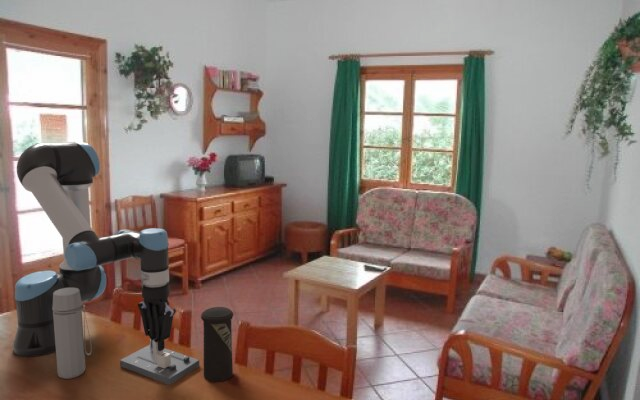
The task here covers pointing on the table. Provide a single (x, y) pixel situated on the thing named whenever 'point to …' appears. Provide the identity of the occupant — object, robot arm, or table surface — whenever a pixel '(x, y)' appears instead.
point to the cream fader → (163, 359)
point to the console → (149, 368)
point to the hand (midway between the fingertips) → (158, 359)
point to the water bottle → (69, 332)
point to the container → (217, 344)
